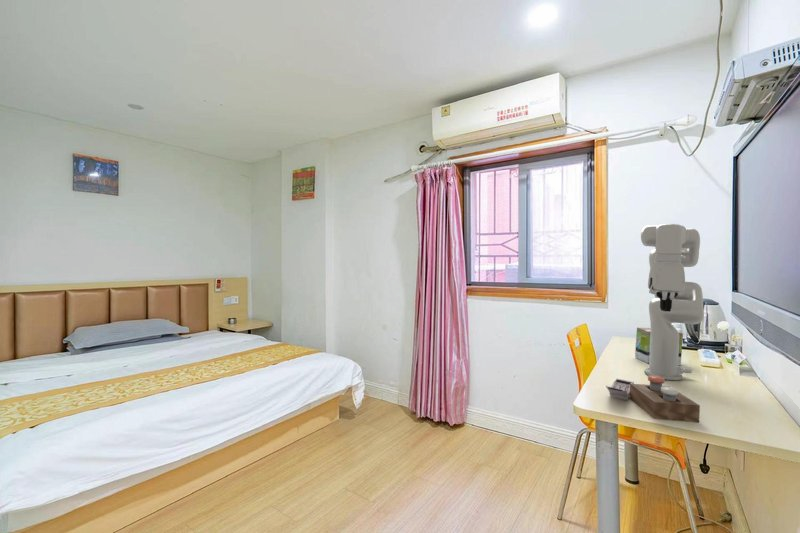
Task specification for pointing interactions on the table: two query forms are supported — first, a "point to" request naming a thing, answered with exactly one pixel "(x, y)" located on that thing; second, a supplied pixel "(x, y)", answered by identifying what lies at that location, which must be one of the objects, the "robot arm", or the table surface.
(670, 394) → the white light bulb
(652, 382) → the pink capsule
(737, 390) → the table surface
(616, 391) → the mobile phone
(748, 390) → the table surface
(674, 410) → the block
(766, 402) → the table surface
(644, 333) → the tea box
